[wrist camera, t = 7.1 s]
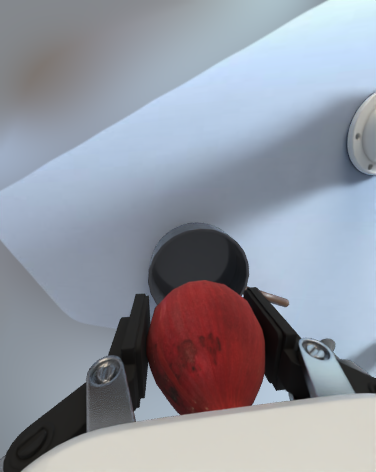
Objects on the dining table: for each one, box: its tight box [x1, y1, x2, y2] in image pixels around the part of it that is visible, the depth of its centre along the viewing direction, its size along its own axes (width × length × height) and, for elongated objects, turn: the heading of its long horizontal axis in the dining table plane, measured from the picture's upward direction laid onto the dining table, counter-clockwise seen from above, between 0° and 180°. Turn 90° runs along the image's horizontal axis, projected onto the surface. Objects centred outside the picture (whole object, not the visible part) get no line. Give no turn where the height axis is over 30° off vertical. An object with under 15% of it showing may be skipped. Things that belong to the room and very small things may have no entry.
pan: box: [148, 223, 249, 305], centre depth 30 cm, size 15×15×4 cm
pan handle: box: [243, 286, 289, 307], centre depth 31 cm, size 9×1×1 cm, turn 68°
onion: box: [146, 280, 265, 415], centre depth 9 cm, size 6×6×8 cm
